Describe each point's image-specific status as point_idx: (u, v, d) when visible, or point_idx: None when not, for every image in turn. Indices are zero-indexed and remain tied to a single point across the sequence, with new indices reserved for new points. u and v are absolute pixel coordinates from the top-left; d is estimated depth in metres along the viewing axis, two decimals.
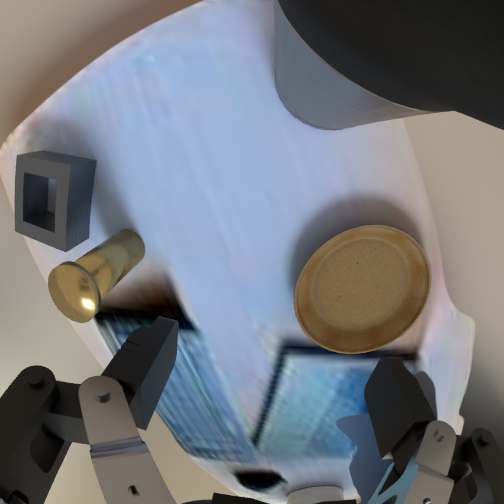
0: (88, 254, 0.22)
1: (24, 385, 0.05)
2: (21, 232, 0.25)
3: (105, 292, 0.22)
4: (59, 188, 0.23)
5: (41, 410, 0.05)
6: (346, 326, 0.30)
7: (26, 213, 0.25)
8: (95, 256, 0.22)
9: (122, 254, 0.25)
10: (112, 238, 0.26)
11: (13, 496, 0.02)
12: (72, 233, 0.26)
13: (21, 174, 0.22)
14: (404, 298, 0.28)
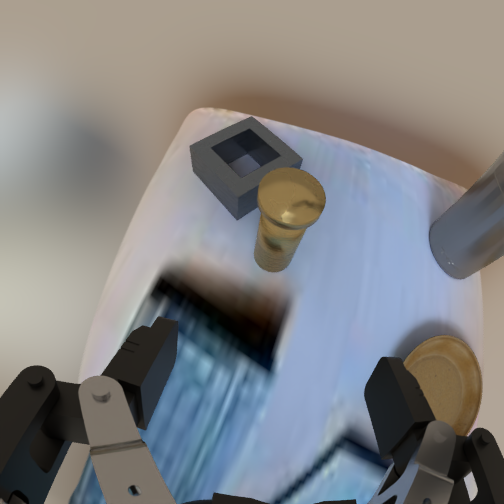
0: None
1: (24, 385, 0.05)
2: (196, 151, 0.30)
3: (298, 232, 0.22)
4: (278, 161, 0.30)
5: (41, 410, 0.05)
6: None
7: (215, 148, 0.31)
8: None
9: None
10: None
11: (13, 496, 0.02)
12: (250, 195, 0.29)
13: (245, 127, 0.32)
14: (452, 425, 0.23)
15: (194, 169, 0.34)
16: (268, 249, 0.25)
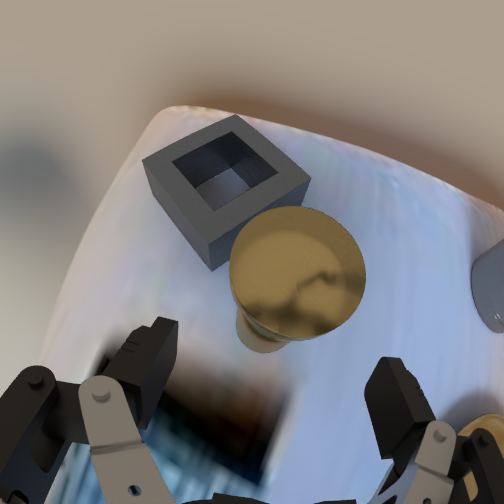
0: None
1: (24, 385, 0.05)
2: (151, 168, 0.20)
3: None
4: (274, 181, 0.20)
5: (41, 410, 0.05)
6: None
7: (180, 163, 0.21)
8: None
9: None
10: None
11: (13, 496, 0.02)
12: (229, 238, 0.19)
13: (225, 129, 0.22)
14: None
15: (153, 192, 0.23)
16: (254, 338, 0.15)
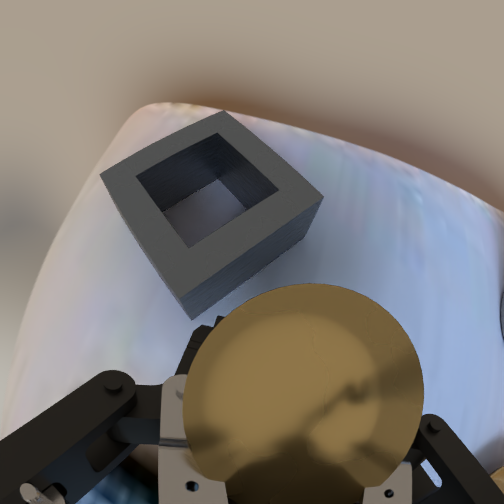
0: None
1: (99, 388, 0.06)
2: (109, 186, 0.14)
3: None
4: (274, 202, 0.14)
5: (111, 416, 0.05)
6: None
7: (148, 176, 0.15)
8: None
9: None
10: None
11: (51, 487, 0.03)
12: (211, 284, 0.14)
13: (208, 130, 0.16)
14: None
15: (120, 213, 0.18)
16: None
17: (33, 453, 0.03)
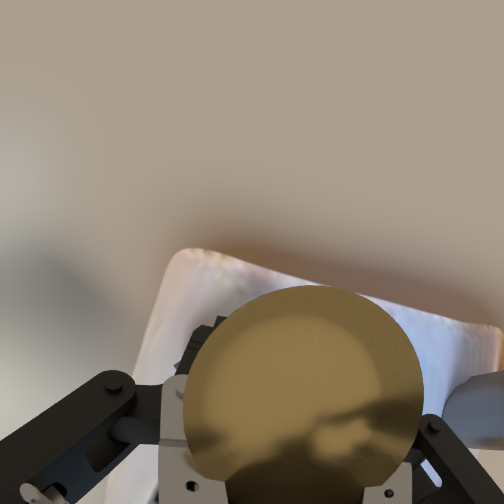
0: None
1: (99, 388, 0.06)
2: None
3: None
4: None
5: (111, 417, 0.05)
6: None
7: None
8: None
9: None
10: None
11: (51, 487, 0.03)
12: None
13: None
14: None
15: None
16: None
17: (33, 453, 0.03)
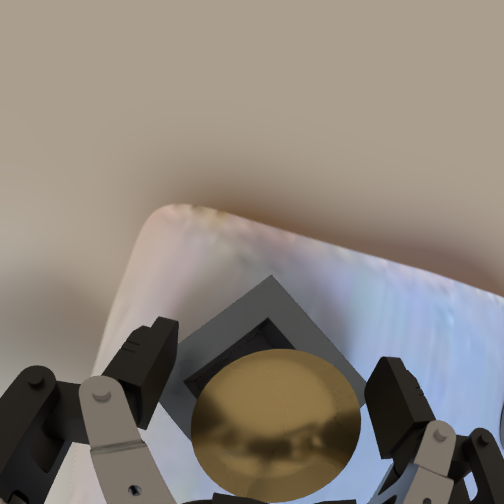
0: None
1: (24, 385, 0.05)
2: None
3: None
4: None
5: (41, 410, 0.05)
6: None
7: (194, 373, 0.14)
8: None
9: None
10: None
11: (13, 496, 0.02)
12: None
13: (257, 313, 0.15)
14: None
15: None
16: None
17: None
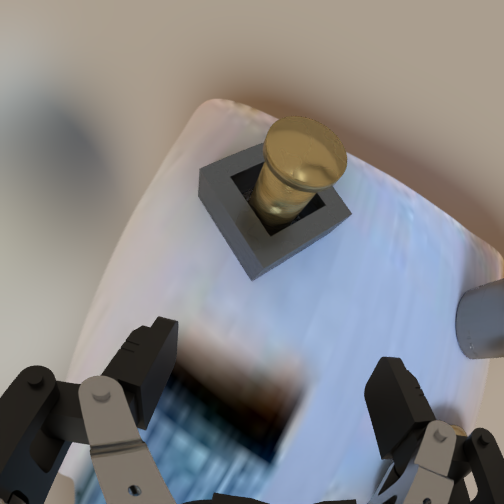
0: None
1: (24, 385, 0.05)
2: (209, 180, 0.21)
3: (306, 197, 0.18)
4: (322, 213, 0.22)
5: (41, 410, 0.05)
6: None
7: (236, 177, 0.22)
8: None
9: None
10: None
11: (13, 496, 0.02)
12: (278, 260, 0.22)
13: None
14: None
15: (200, 196, 0.25)
16: (263, 212, 0.21)
17: None
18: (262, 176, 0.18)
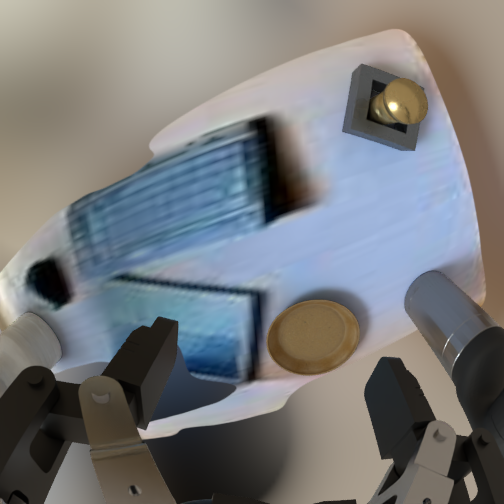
0: None
1: (24, 385, 0.05)
2: (361, 72, 0.28)
3: (392, 118, 0.26)
4: (400, 135, 0.30)
5: (41, 410, 0.05)
6: (281, 331, 0.45)
7: (376, 82, 0.28)
8: None
9: None
10: None
11: (13, 496, 0.02)
12: (360, 132, 0.31)
13: None
14: (304, 360, 0.46)
15: (353, 74, 0.31)
16: (372, 107, 0.29)
17: None
18: (382, 93, 0.26)
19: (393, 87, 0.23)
